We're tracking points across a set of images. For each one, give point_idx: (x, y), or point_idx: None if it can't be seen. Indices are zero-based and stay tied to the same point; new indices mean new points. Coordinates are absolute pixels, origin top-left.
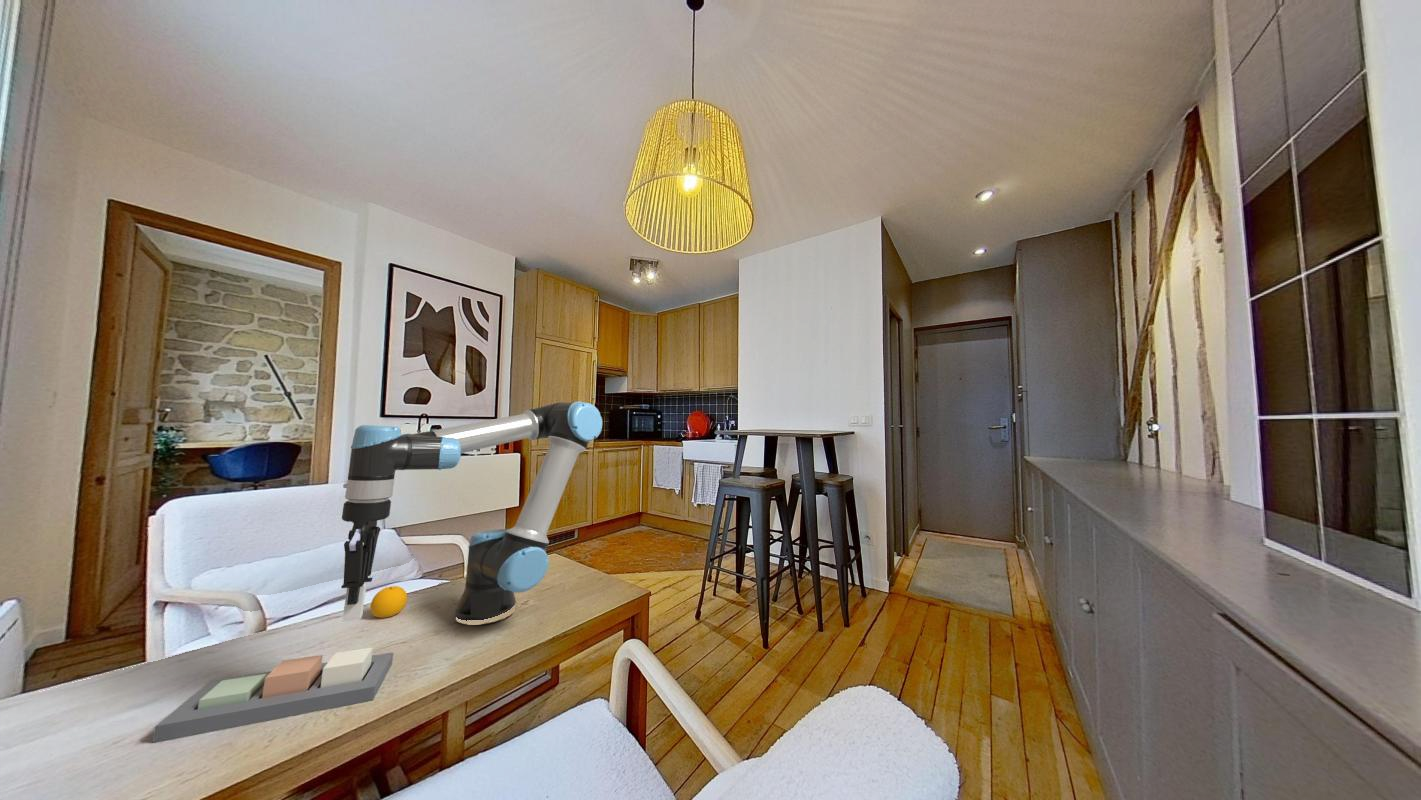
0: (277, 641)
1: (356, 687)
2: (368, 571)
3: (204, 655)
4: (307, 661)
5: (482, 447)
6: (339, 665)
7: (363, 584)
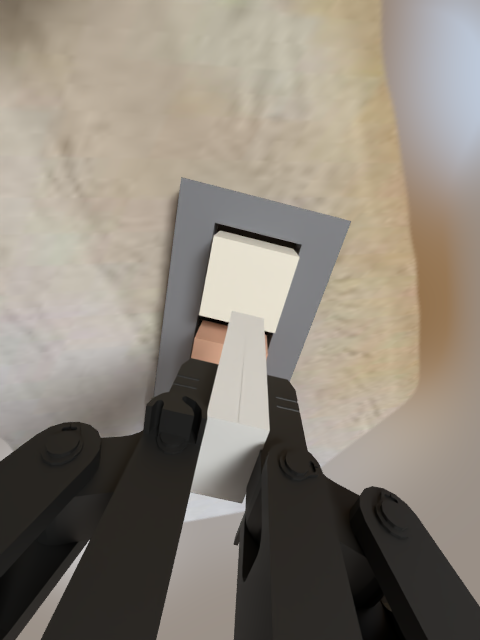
0: None
1: (327, 257)
2: (121, 505)
3: (17, 447)
4: (215, 360)
5: None
6: (279, 305)
7: (230, 432)
